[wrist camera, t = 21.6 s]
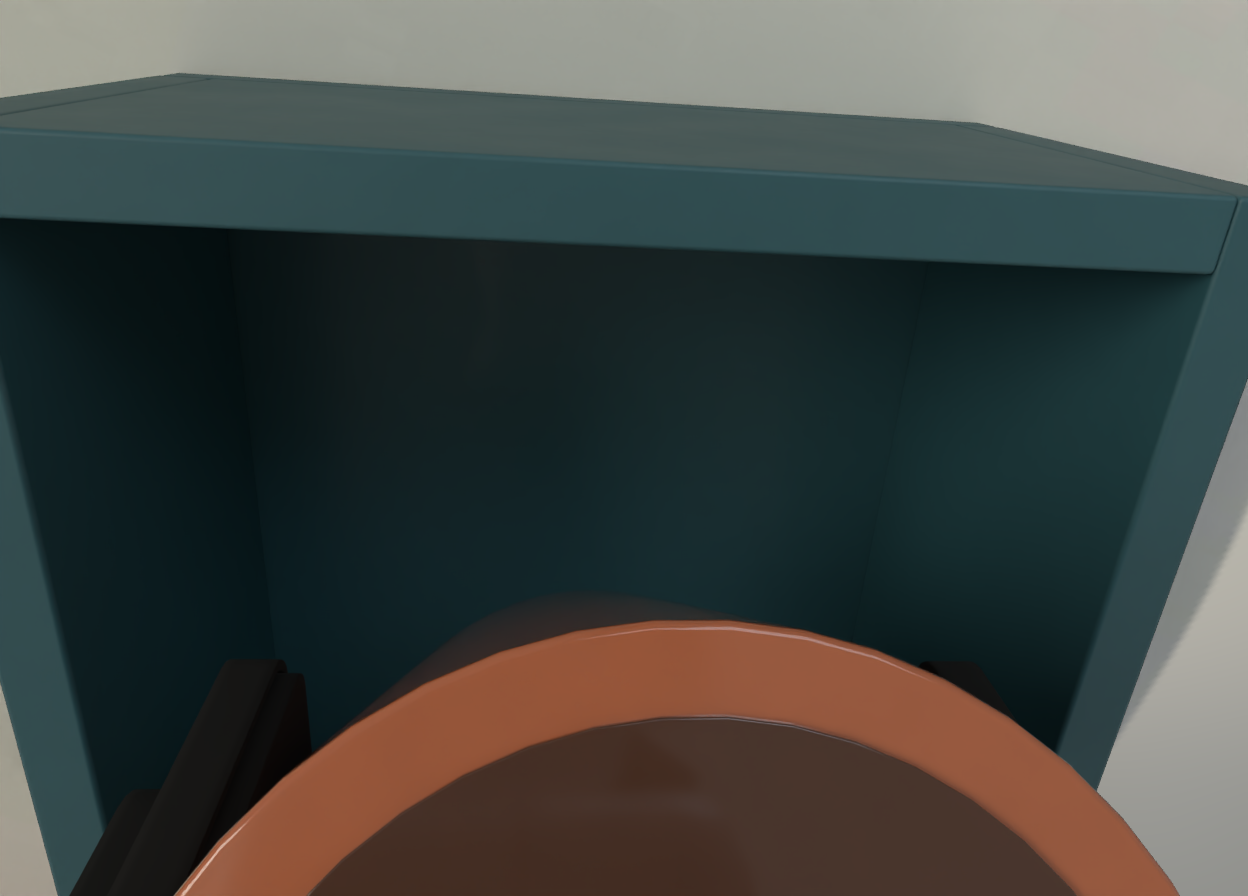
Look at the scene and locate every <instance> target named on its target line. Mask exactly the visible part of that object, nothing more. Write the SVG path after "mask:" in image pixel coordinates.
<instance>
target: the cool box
mask: <svg viewBox="0 0 1248 896" xmlns="http://www.w3.org/2000/svg"><path fill="white" fill-rule="evenodd" d="M1247 379H1248V186H1247V185H1243V184H1238V183H1234V182H1230V181H1225V180H1221V179H1217V178H1213V177H1208V176H1204V175H1200V174H1195V173H1191V172H1187V171H1183V170H1178V169H1174V168H1170V167H1165V166H1161V165H1157V164H1153V163H1148V162H1144V161H1140V160H1135V159H1131V158H1127V157H1122V156H1118V155H1114V154H1110V153H1105V152H1101V151H1097V150H1092V149H1088V148H1084V147H1080V146H1075V145H1071V144H1067V143H1062V142H1058V141H1054V140H1050V139H1045V138H1041V137H1037V136H1032V135H1028V134H1024V133H1020V132H1015V131H1011V130H1007V129H1002V128H996V127H993V126H989V125H984V124H980V123H970V122H954V121H938V120H922V119H906V118H890V117H874V116H858V115H842V114H826V113H810V112H794V111H778V110H762V109H746V108H730V107H714V106H698V105H682V104H666V103H650V102H634V101H618V100H602V99H586V98H570V97H554V96H538V95H522V94H506V93H490V92H474V91H458V90H442V89H426V88H410V87H394V86H378V85H362V84H346V83H330V82H314V81H298V80H282V79H266V78H250V77H234V76H218V75H202V74H186V73H176V74H169V75H164V76H153V77H146V78H139V79H132V80H125V81H118V82H111V83H104V84H97V85H89V86H82V87H75V88H68V89H61V90H54V91H47V92H40V93H33V94H25V95H18V96H11V97H4V98H0V683H1V686H2V690H3V694H4V697H5V701H6V705H7V708H8V712H9V716H10V720H11V723H12V727H13V731H14V734H15V738H16V742H17V746H18V749H19V753H20V757H21V760H22V764H23V768H24V771H25V775H26V779H27V783H28V786H29V790H30V794H31V797H32V801H33V805H34V809H35V812H36V816H37V820H38V823H39V827H40V831H41V834H42V838H43V842H44V846H45V849H46V853H47V857H48V860H49V864H50V868H51V871H52V875H53V879H54V883H55V886H56V890H57V894H58V896H69V895H70V894H71V892H72V890H73V888H74V886H75V884H76V883H77V881H78V879H79V877H80V875H81V873H82V872H83V870H84V868H85V866H86V864H87V862H88V861H89V859H90V857H91V855H92V853H93V851H94V850H95V848H96V846H97V844H98V842H99V840H100V839H101V837H102V835H103V833H104V831H105V829H106V828H107V826H108V824H109V822H110V820H111V818H112V817H113V815H114V813H115V811H116V809H117V808H118V806H119V805H120V803H121V802H122V800H123V799H124V798H125V796H126V795H127V794H129V793H130V792H131V791H133V790H134V789H161V788H162V786H163V784H164V782H165V780H166V778H167V776H168V774H169V772H170V770H171V768H172V766H173V764H174V762H175V760H176V758H177V756H178V754H179V752H180V750H181V748H182V746H183V744H184V742H185V740H186V738H187V736H188V734H189V732H190V730H191V728H192V726H193V724H194V722H195V720H196V718H197V716H198V714H199V712H200V710H201V708H202V706H203V704H204V702H205V700H206V698H207V696H208V694H209V692H210V690H211V688H212V686H213V684H214V682H215V680H216V678H217V676H218V674H219V672H220V670H221V668H222V666H223V665H224V663H225V662H226V661H228V660H229V659H282V660H284V661H285V664H286V666H287V671H288V673H301V674H303V676H304V679H305V685H306V696H307V706H308V716H309V727H310V737H311V747H312V753H313V752H314V751H315V750H316V749H317V748H318V747H320V746H321V745H322V744H323V743H324V742H326V741H327V740H328V739H329V738H330V737H332V736H333V735H334V734H335V733H336V732H338V731H339V730H340V729H341V728H342V727H344V726H345V725H346V724H347V723H348V722H350V721H351V720H352V719H353V718H354V717H356V716H357V715H358V714H359V713H360V712H362V711H363V710H364V709H365V708H366V707H368V706H369V705H370V704H371V703H372V702H373V701H375V700H376V699H377V698H378V697H379V696H381V695H382V694H383V693H384V692H385V691H387V690H388V689H389V688H390V687H391V686H393V685H394V684H395V683H396V682H397V681H399V680H400V679H401V678H402V677H403V676H405V675H406V674H407V673H408V672H409V671H411V670H412V669H413V668H414V667H415V666H417V665H418V664H419V663H420V662H421V661H422V660H424V659H425V658H426V657H427V656H428V655H430V654H431V653H432V652H433V651H434V650H436V649H437V648H438V647H440V646H441V645H442V644H443V643H445V642H446V641H447V640H449V639H450V638H451V637H453V636H454V635H455V634H457V633H458V632H459V631H461V630H462V629H464V628H465V627H467V626H469V625H471V624H472V623H474V622H476V621H478V620H479V619H481V618H483V617H485V616H486V615H488V614H490V613H492V612H495V611H497V610H500V609H502V608H505V607H507V606H509V605H512V604H514V603H517V602H520V601H523V600H527V599H531V598H535V597H538V596H542V595H546V594H552V593H559V592H567V591H574V590H610V591H618V592H625V593H633V594H639V595H644V596H649V597H653V598H658V599H663V600H667V601H672V602H677V603H682V604H686V605H691V606H696V607H701V608H705V609H710V610H715V611H719V612H724V613H729V614H734V615H738V616H743V617H748V618H752V619H757V620H762V621H767V622H771V623H776V624H781V625H786V626H790V627H795V628H800V629H804V630H808V631H811V632H815V633H819V634H822V635H826V636H830V637H833V638H837V639H841V640H844V641H848V642H852V643H855V644H859V645H863V646H866V647H870V648H874V649H877V650H879V651H881V652H884V653H886V654H888V655H891V656H893V657H895V658H898V659H900V660H903V661H905V662H907V663H910V664H912V665H914V666H917V667H918V666H919V665H920V664H921V663H922V662H925V661H971V662H974V663H976V664H977V665H978V666H979V667H980V668H981V670H982V671H983V673H984V674H985V675H986V677H987V678H988V680H989V681H990V683H991V684H992V686H993V687H994V689H995V690H996V692H997V693H998V695H999V696H1000V698H1001V699H1002V700H1003V702H1004V703H1005V705H1006V706H1007V708H1008V709H1009V711H1010V712H1011V714H1012V715H1013V717H1014V718H1015V720H1016V721H1017V723H1018V724H1019V725H1020V726H1022V727H1023V728H1024V729H1026V730H1027V731H1028V732H1029V733H1031V734H1032V735H1033V736H1034V737H1036V738H1037V739H1038V740H1040V741H1041V742H1042V743H1043V744H1045V745H1046V746H1047V747H1049V748H1050V749H1051V750H1052V751H1054V752H1055V753H1056V754H1057V755H1059V756H1060V757H1061V758H1063V759H1064V760H1065V761H1066V762H1068V763H1069V764H1070V765H1071V766H1072V767H1073V768H1074V769H1075V770H1076V771H1077V772H1078V773H1079V774H1080V775H1081V776H1082V777H1083V778H1084V779H1085V780H1086V781H1087V782H1088V783H1089V784H1090V785H1091V786H1092V787H1093V788H1094V789H1095V790H1096V791H1097V788H1098V786H1099V783H1100V780H1101V777H1102V774H1103V772H1104V769H1105V767H1106V764H1107V761H1108V758H1109V756H1110V753H1111V750H1112V747H1113V745H1114V742H1115V739H1116V737H1117V734H1118V731H1119V728H1120V726H1121V723H1122V720H1123V717H1124V715H1125V712H1126V709H1127V707H1128V704H1129V701H1130V698H1131V696H1132V693H1133V690H1134V687H1135V685H1136V682H1137V679H1138V677H1139V674H1140V671H1141V668H1142V666H1143V663H1144V660H1145V657H1146V655H1147V652H1148V649H1149V647H1150V644H1151V641H1152V638H1153V636H1154V633H1155V630H1156V627H1157V625H1158V622H1159V619H1160V617H1161V614H1162V611H1163V608H1164V606H1165V603H1166V600H1167V598H1168V595H1169V592H1170V589H1171V587H1172V584H1173V581H1174V578H1175V576H1176V573H1177V570H1178V568H1179V565H1180V562H1181V559H1182V557H1183V554H1184V551H1185V548H1186V546H1187V543H1188V540H1189V538H1190V535H1191V532H1192V529H1193V527H1194V524H1195V521H1196V518H1197V516H1198V513H1199V510H1200V508H1201V505H1202V502H1203V499H1204V497H1205V494H1206V491H1207V488H1208V486H1209V483H1210V480H1211V478H1212V475H1213V472H1214V469H1215V467H1216V464H1217V461H1218V458H1219V456H1220V453H1221V450H1222V448H1223V445H1224V442H1225V439H1226V437H1227V434H1228V431H1229V428H1230V426H1231V423H1232V420H1233V418H1234V415H1235V412H1236V409H1237V407H1238V404H1239V401H1240V398H1241V396H1242V393H1243V390H1244V388H1245V385H1246V382H1247Z"/></svg>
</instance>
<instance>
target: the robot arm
mask: <svg viewBox="0 0 1248 896" xmlns="http://www.w3.org/2000/svg"><path fill="white" fill-rule="evenodd" d="M918 667H919V668H921V669H924V670H926V671H928V672H931V673H933V674H936V675H938V676H940V677H943V678H945V679H946V680H948V681H950V682H951V683H953V684H955V685H957V686H958V687H960V688H962V689H963V690H965V691H967V692H968V693H970V694H972V695H973V696H975V697H977V698H979V699H980V700H982V701H984V702H985V703H987V704H989V705H990V706H992V707H994V708H995V709H997V710H999V711H1001V712H1002V713H1004V714H1006V715H1007V716H1009V717H1010V718H1011V719H1013V720H1014V721H1015V722H1017V721H1016V720H1015V718H1014V717H1013V715H1012V714H1011V712H1010V711H1009V709H1008V708H1007V706H1006V705H1005V703H1004V702H1003V700H1002V699H1001V698H1000V696H999V695H998V693H997V692H996V690H995V689H994V687H993V686H992V684H991V683H990V681H989V680H988V678H987V677H986V675H985V674H984V673H983V671H982V670H981V668H980V667H979V666H978V665H977V664H976V663H974V662H971V661H925V662H922V663H921V664H920V665H919V666H918ZM311 753H312V747H311V737H310V727H309V716H308V706H307V696H306V685H305V679H304V676H303V674H301V673H288V671H287V666H286V664H285V661H284V660H282V659H229V660H228V661H226V662H225V663H224V665H223V666H222V668H221V670H220V672H219V674H218V676H217V678H216V680H215V682H214V684H213V686H212V688H211V690H210V692H209V694H208V696H207V698H206V700H205V702H204V704H203V706H202V708H201V710H200V712H199V714H198V716H197V718H196V720H195V722H194V724H193V726H192V728H191V730H190V732H189V734H188V736H187V738H186V740H185V742H184V744H183V746H182V748H181V750H180V752H179V754H178V756H177V758H176V760H175V762H174V764H173V766H172V768H171V770H170V772H169V774H168V776H167V778H166V780H165V782H164V784H163V786H162V788H161V789H134V790H133V791H131V792H130V793H129V794H127V795H126V796H125V798H124V799H123V800H122V802H121V803H120V805H119V806H118V808H117V809H116V811H115V813H114V815H113V817H112V818H111V820H110V822H109V824H108V826H107V828H106V829H105V831H104V833H103V835H102V837H101V839H100V840H99V842H98V844H97V846H96V848H95V850H94V851H93V853H92V855H91V857H90V859H89V861H88V862H87V864H86V866H85V868H84V870H83V872H82V873H81V875H80V877H79V879H78V881H77V883H76V884H75V886H74V888H73V890H72V892H71V894H70V895H69V896H174V895H175V893H176V892H177V891H178V890H179V888H180V887H181V886H182V885H183V883H184V882H185V881H186V880H187V879H188V877H189V876H190V875H191V874H192V872H193V871H194V870H195V869H196V867H197V866H198V865H199V864H200V862H201V861H202V860H203V859H204V857H205V856H206V855H207V854H208V852H209V851H210V850H211V849H212V847H213V846H214V845H215V844H216V842H217V841H218V840H219V839H220V838H221V837H222V836H223V835H224V834H225V833H226V832H227V831H228V830H229V829H230V828H231V827H232V826H233V825H234V824H235V823H236V822H238V821H239V820H240V819H241V818H242V817H243V816H244V815H245V814H246V813H247V812H248V811H249V810H250V809H251V808H252V807H253V806H254V805H255V804H256V803H257V802H258V801H259V800H260V799H261V798H262V797H263V796H264V795H265V794H266V793H267V792H268V791H269V790H270V789H271V788H272V787H273V786H274V785H275V784H276V783H277V782H278V781H279V780H280V779H282V778H283V777H284V776H285V775H286V774H287V773H289V772H290V771H291V770H292V769H293V768H295V767H296V766H297V765H298V764H299V763H301V762H302V761H303V760H304V759H305V758H307V757H308V756H309V755H310V754H311Z"/></svg>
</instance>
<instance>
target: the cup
mask: <svg viewBox="0 0 1248 896" xmlns="http://www.w3.org/2000/svg"><path fill="white" fill-rule="evenodd" d="M174 896H1180V895H1179V894H1178V892H1177V890H1176V888H1175V887H1174V885H1173V883H1172V882H1171V881H1170V879H1169V878H1168V876H1167V875H1166V874H1165V873H1164V871H1163V870H1162V868H1161V867H1160V866H1159V865H1158V863H1157V862H1156V861H1155V860H1154V858H1153V857H1152V855H1151V854H1150V853H1149V852H1148V850H1147V849H1146V848H1145V846H1144V845H1143V844H1142V843H1141V841H1140V840H1139V839H1138V837H1137V836H1136V835H1135V833H1134V832H1133V831H1132V830H1131V828H1130V827H1129V826H1128V824H1127V823H1126V822H1125V821H1124V819H1123V818H1122V817H1121V816H1120V815H1119V814H1118V813H1117V812H1116V811H1115V810H1114V809H1113V808H1112V807H1111V806H1110V805H1109V804H1108V803H1107V802H1106V801H1105V800H1104V799H1103V798H1102V797H1101V796H1100V795H1099V794H1098V793H1097V791H1096V790H1095V789H1094V788H1093V787H1092V786H1091V785H1090V784H1089V783H1088V782H1087V781H1086V780H1085V779H1084V778H1083V777H1082V776H1081V775H1080V774H1079V773H1078V772H1077V771H1076V770H1075V769H1074V768H1073V767H1072V766H1071V765H1070V764H1069V763H1068V762H1066V761H1065V760H1064V759H1063V758H1061V757H1060V756H1059V755H1057V754H1056V753H1055V752H1054V751H1052V750H1051V749H1050V748H1049V747H1047V746H1046V745H1045V744H1043V743H1042V742H1041V741H1040V740H1038V739H1037V738H1036V737H1034V736H1033V735H1032V734H1031V733H1029V732H1028V731H1027V730H1026V729H1024V728H1023V727H1022V726H1020V725H1019V724H1018V723H1017V722H1015V721H1014V720H1013V719H1011V718H1010V717H1009V716H1007V715H1006V714H1004V713H1002V712H1001V711H999V710H997V709H995V708H994V707H992V706H990V705H989V704H987V703H985V702H984V701H982V700H980V699H979V698H977V697H975V696H973V695H972V694H970V693H968V692H967V691H965V690H963V689H962V688H960V687H958V686H957V685H955V684H953V683H951V682H950V681H948V680H946V679H945V678H943V677H940V676H938V675H936V674H933V673H931V672H928V671H926V670H924V669H921V668H919V667H917V666H914V665H912V664H910V663H907V662H905V661H903V660H900V659H898V658H895V657H893V656H891V655H888V654H886V653H884V652H881V651H879V650H877V649H874V648H870V647H866V646H863V645H859V644H855V643H852V642H848V641H844V640H841V639H837V638H833V637H830V636H826V635H822V634H819V633H815V632H811V631H808V630H804V629H800V628H795V627H790V626H786V625H781V624H776V623H771V622H767V621H762V620H757V619H752V618H748V617H743V616H738V615H734V614H729V613H724V612H719V611H715V610H710V609H705V608H701V607H696V606H691V605H686V604H682V603H677V602H672V601H667V600H663V599H658V598H653V597H649V596H644V595H639V594H633V593H625V592H618V591H610V590H574V591H567V592H559V593H552V594H546V595H542V596H538V597H535V598H531V599H527V600H523V601H520V602H517V603H514V604H512V605H509V606H507V607H505V608H502V609H500V610H497V611H495V612H492V613H490V614H488V615H486V616H485V617H483V618H481V619H479V620H478V621H476V622H474V623H472V624H471V625H469V626H467V627H465V628H464V629H462V630H461V631H459V632H458V633H457V634H455V635H454V636H453V637H451V638H450V639H449V640H447V641H446V642H445V643H443V644H442V645H441V646H440V647H438V648H437V649H436V650H434V651H433V652H432V653H431V654H430V655H428V656H427V657H426V658H425V659H424V660H422V661H421V662H420V663H419V664H418V665H417V666H415V667H414V668H413V669H412V670H411V671H409V672H408V673H407V674H406V675H405V676H403V677H402V678H401V679H400V680H399V681H397V682H396V683H395V684H394V685H393V686H391V687H390V688H389V689H388V690H387V691H385V692H384V693H383V694H382V695H381V696H379V697H378V698H377V699H376V700H375V701H373V702H372V703H371V704H370V705H369V706H368V707H366V708H365V709H364V710H363V711H362V712H360V713H359V714H358V715H357V716H356V717H354V718H353V719H352V720H351V721H350V722H348V723H347V724H346V725H345V726H344V727H342V728H341V729H340V730H339V731H338V732H336V733H335V734H334V735H333V736H332V737H330V738H329V739H328V740H327V741H326V742H324V743H323V744H322V745H321V746H320V747H318V748H317V749H316V750H315V751H314V752H313V753H311V754H310V755H309V756H308V757H307V758H305V759H304V760H303V761H302V762H301V763H299V764H298V765H297V766H296V767H295V768H293V769H292V770H291V771H290V772H289V773H287V774H286V775H285V776H284V777H283V778H282V779H280V780H279V781H278V782H277V783H276V784H275V785H274V786H273V787H272V788H271V789H270V790H269V791H268V792H267V793H266V794H265V795H264V796H263V797H262V798H261V799H260V800H259V801H258V802H257V803H256V804H255V805H254V806H253V807H252V808H251V809H250V810H249V811H248V812H247V813H246V814H245V815H244V816H243V817H242V818H241V819H240V820H239V821H238V822H236V823H235V824H234V825H233V826H232V827H231V828H230V829H229V830H228V831H227V832H226V833H225V834H224V835H223V836H222V837H221V838H220V839H219V840H218V841H217V842H216V844H215V845H214V846H213V847H212V849H211V850H210V851H209V852H208V854H207V855H206V856H205V857H204V859H203V860H202V861H201V862H200V864H199V865H198V866H197V867H196V869H195V870H194V871H193V872H192V874H191V875H190V876H189V877H188V879H187V880H186V881H185V882H184V883H183V885H182V886H181V887H180V888H179V890H178V891H177V892H176V893H175V895H174Z"/></svg>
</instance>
